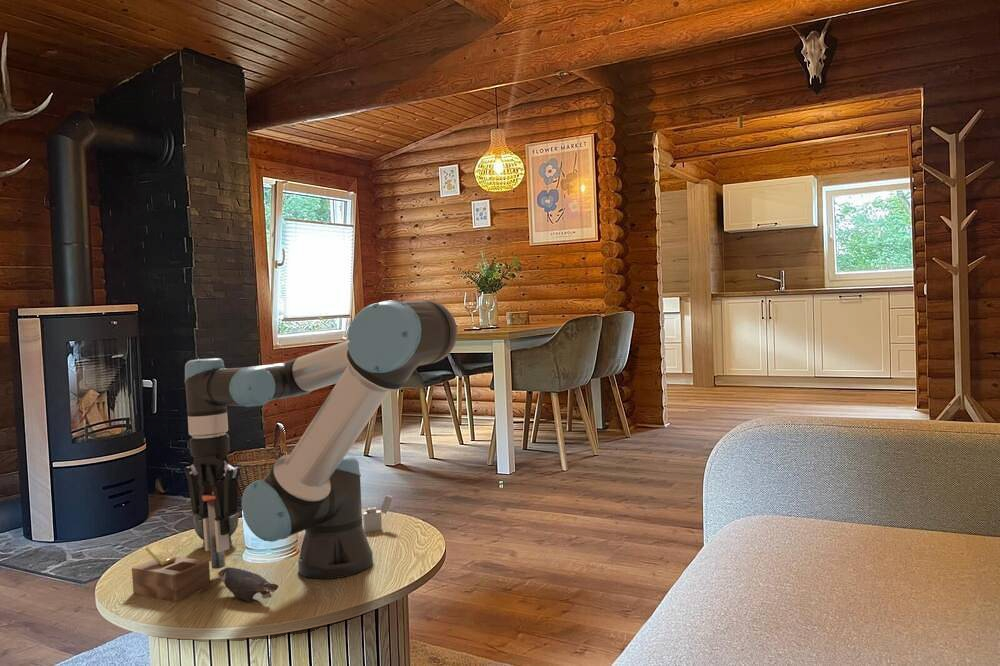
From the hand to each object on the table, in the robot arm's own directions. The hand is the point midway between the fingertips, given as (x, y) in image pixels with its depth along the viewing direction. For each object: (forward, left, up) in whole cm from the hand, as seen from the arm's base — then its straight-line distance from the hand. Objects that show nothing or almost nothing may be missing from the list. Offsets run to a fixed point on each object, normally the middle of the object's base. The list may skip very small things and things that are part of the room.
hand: (217, 549), depth 155 cm
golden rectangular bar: (+6, +9, +1) cm, 11 cm away
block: (+3, +9, -6) cm, 11 cm away
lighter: (-13, -38, -6) cm, 40 cm away
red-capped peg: (0, 0, -4) cm, 4 cm away
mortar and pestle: (+17, -15, -6) cm, 24 cm away
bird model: (-15, +7, -6) cm, 17 cm away
